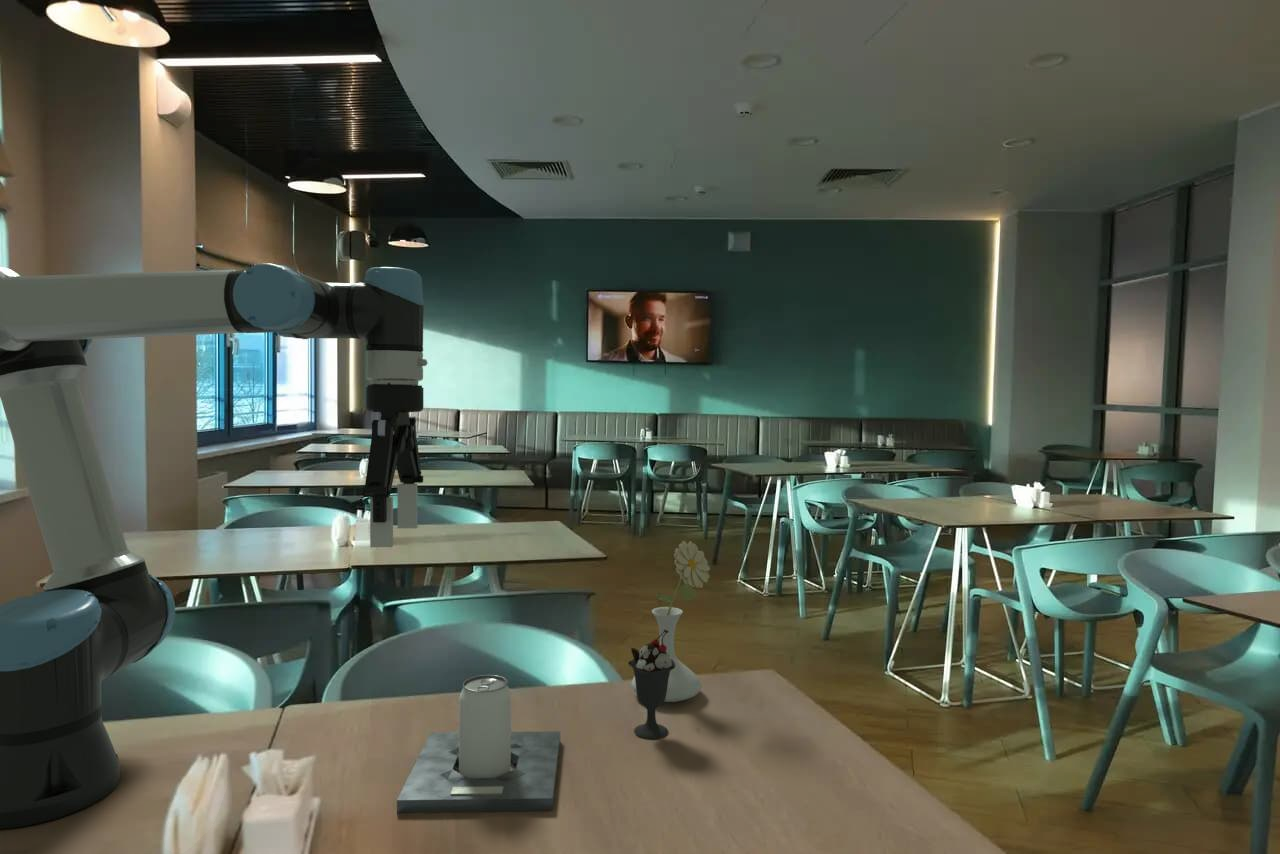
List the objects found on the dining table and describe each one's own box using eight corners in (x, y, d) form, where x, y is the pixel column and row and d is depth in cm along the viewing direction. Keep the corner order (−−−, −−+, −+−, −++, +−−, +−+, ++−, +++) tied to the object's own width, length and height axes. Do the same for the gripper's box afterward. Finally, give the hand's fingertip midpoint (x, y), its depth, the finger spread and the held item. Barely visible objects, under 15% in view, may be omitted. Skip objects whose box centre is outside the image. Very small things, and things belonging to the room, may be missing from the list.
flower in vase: (651, 714, 120) (654, 552, 119) (619, 688, 130) (620, 538, 129) (723, 699, 126) (726, 545, 125) (686, 676, 136) (689, 533, 135)
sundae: (683, 734, 113) (685, 631, 112) (645, 746, 109) (646, 639, 109) (657, 718, 119) (658, 620, 118) (619, 728, 115) (620, 627, 114)
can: (516, 764, 104) (516, 674, 103) (502, 789, 97) (503, 694, 97) (468, 761, 104) (468, 672, 104) (451, 785, 98) (452, 691, 97)
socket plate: (396, 812, 91) (396, 798, 91) (430, 742, 109) (430, 731, 109) (552, 810, 92) (552, 796, 92) (560, 741, 110) (560, 729, 110)
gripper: (399, 382, 95) (399, 556, 97) (441, 383, 120) (441, 521, 121) (336, 382, 95) (337, 555, 96) (391, 383, 120) (392, 521, 121)
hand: (395, 537), depth 109 cm, fingers open, 13 cm apart
